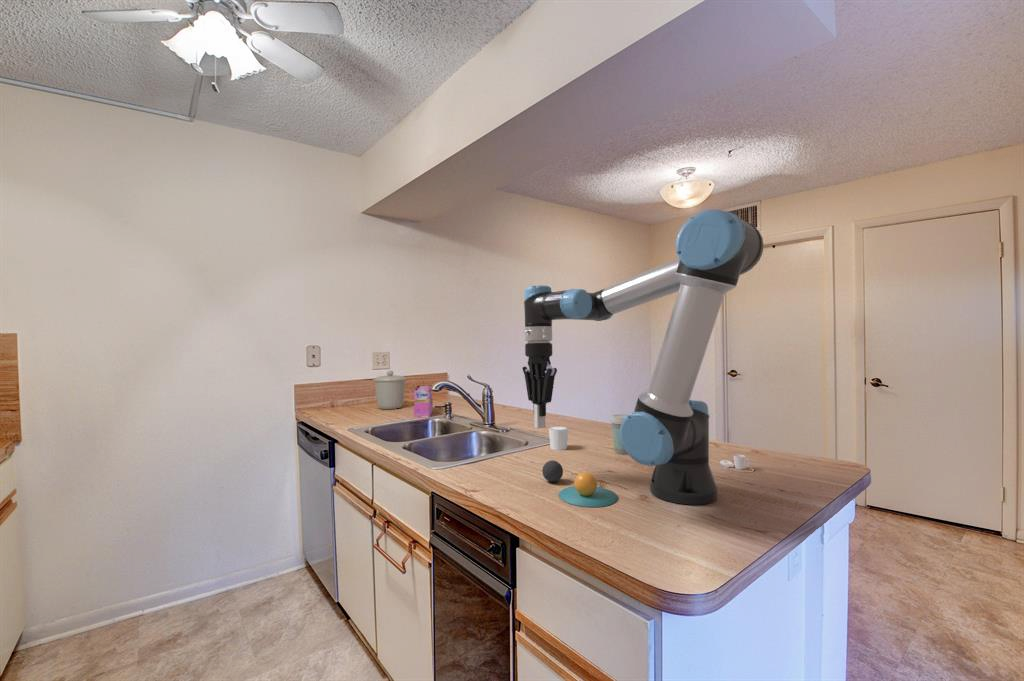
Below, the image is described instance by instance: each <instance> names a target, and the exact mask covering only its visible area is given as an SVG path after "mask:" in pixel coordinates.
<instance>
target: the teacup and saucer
mask: <svg viewBox="0 0 1024 681" xmlns="http://www.w3.org/2000/svg"><path fill="white" fill-rule="evenodd" d="M746 456H747V455H743V454H733V462H732V461H730V460H727V459H722V460H720V463H719V464H720V465H721V466H723V467H724V468H725V467H732V468H735V469H736V468H737V470H740V469H743V470H745V469H747V466H749V465H750V462H751V461H750V459H749V458H747V457H746ZM746 461H748V464H747V465H746V463H747V462H746ZM734 465H735V466H734ZM745 466H746V467H745Z"/></svg>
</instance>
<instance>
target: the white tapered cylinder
mask: <svg viewBox="0 0 1024 681" xmlns="http://www.w3.org/2000/svg"><path fill="white" fill-rule="evenodd" d="M548 435H549V436H548V437H549V444H550V446H549V447H550V449H551V450H553V451H564V450H567V448H568V438H569V427H566V426H560V425H559V426H550V427H548Z"/></svg>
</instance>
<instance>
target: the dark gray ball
mask: <svg viewBox="0 0 1024 681" xmlns="http://www.w3.org/2000/svg"><path fill="white" fill-rule="evenodd" d="M541 472H542V476H543V478H544V479H545V480H546V481H547V482H550V483H556V482H559V481H560V480H561V479H562V477H563V474H564V468H563V466H562V465H561V463H560V462H558V461H556V460H552V459H551V460H549V461H547V462H545V463H544V465H543V466H542V470H541Z"/></svg>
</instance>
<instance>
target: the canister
mask: <svg viewBox="0 0 1024 681" xmlns="http://www.w3.org/2000/svg"><path fill="white" fill-rule="evenodd" d="M372 380H373V381H374V387H375V388H374V389H375V398H376V403H377V404H376V405H377V407H378V408H379V409H381V410H398V409H401V408H402V407H403V404H404V401H405V400H404V399H405V388H406V380H407V377H405V376H403V375H397V374H396V375H394V371H393V370H387V372H386V375H381V376H380V375H379V376H377V377H375V378H374V379H372ZM397 408H398V409H397Z"/></svg>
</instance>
